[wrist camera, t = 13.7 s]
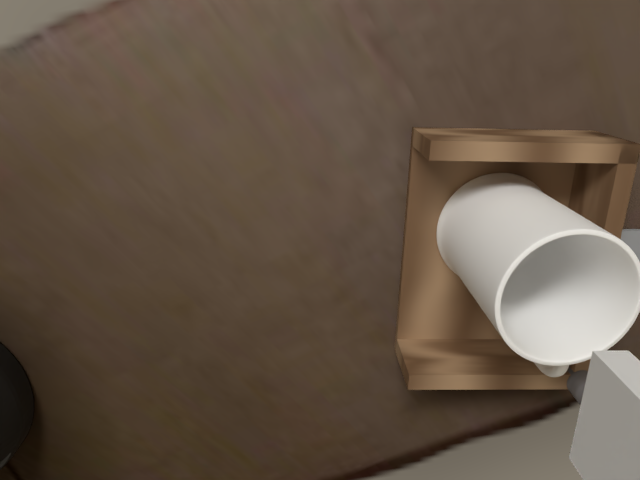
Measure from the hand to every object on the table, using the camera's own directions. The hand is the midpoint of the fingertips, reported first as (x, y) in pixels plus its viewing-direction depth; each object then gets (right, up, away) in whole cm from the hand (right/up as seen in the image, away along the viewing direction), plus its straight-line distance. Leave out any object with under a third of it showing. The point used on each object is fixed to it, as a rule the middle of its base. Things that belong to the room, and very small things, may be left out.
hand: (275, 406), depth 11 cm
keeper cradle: (+14, +3, +30) cm, 33 cm away
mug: (+14, +3, +30) cm, 33 cm away
